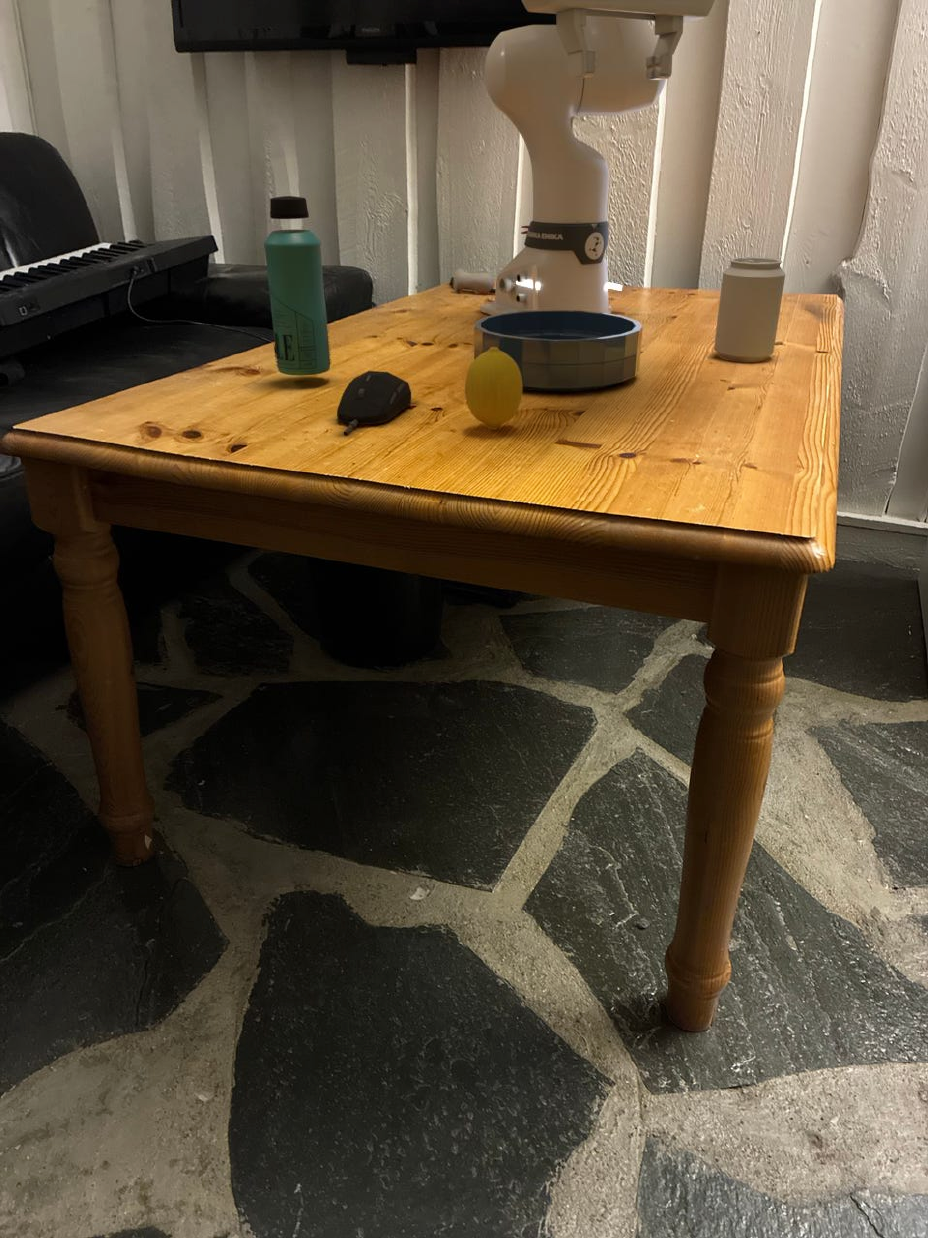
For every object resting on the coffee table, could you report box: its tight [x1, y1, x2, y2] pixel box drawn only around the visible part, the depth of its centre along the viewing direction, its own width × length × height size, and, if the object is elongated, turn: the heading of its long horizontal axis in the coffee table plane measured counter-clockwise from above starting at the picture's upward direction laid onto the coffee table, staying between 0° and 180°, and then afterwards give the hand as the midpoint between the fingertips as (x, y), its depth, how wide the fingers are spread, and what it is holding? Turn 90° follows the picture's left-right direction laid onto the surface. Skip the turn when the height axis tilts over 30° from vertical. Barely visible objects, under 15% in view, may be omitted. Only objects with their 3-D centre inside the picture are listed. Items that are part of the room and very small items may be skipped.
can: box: [713, 256, 786, 363], centre depth 115 cm, size 8×8×12 cm
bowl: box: [473, 310, 644, 393], centre depth 108 cm, size 20×20×6 cm
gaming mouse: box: [336, 370, 412, 436], centre depth 93 cm, size 6×15×4 cm, turn 166°
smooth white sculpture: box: [452, 267, 496, 295], centre depth 167 cm, size 4×8×5 cm
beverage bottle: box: [263, 195, 333, 376], centre depth 102 cm, size 6×7×20 cm
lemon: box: [464, 347, 523, 431], centre depth 87 cm, size 6×6×8 cm
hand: (621, 78), depth 79 cm, fingers open, 8 cm apart
